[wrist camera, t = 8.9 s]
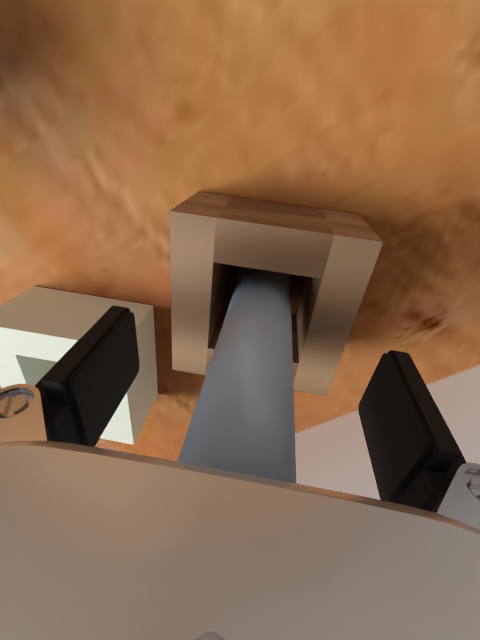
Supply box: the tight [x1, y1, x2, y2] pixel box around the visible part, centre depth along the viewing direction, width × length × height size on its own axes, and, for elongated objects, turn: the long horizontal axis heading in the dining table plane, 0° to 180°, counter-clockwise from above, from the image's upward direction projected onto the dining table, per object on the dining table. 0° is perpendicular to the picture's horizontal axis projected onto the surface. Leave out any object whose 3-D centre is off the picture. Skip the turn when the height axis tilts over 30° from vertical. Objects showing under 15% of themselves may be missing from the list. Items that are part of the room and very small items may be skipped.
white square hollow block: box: [0, 286, 158, 445], centre depth 22 cm, size 9×9×5 cm
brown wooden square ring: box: [170, 192, 383, 396], centre depth 17 cm, size 9×9×5 cm
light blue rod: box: [178, 267, 296, 484], centre depth 13 cm, size 3×3×16 cm
